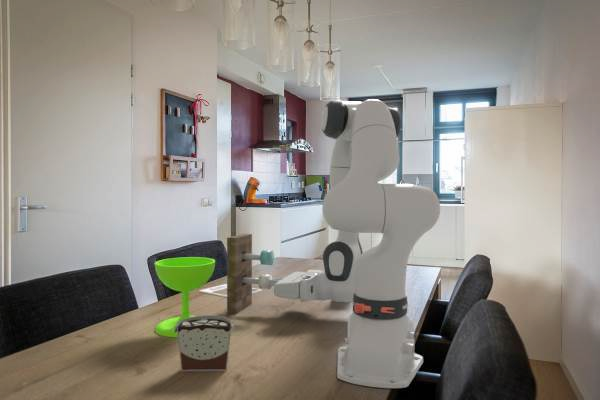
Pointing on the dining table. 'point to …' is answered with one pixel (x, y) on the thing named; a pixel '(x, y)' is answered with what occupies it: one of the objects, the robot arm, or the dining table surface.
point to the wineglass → (182, 284)
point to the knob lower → (259, 281)
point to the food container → (204, 342)
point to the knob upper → (261, 257)
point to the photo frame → (220, 288)
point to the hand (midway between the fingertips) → (270, 281)
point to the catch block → (238, 273)
